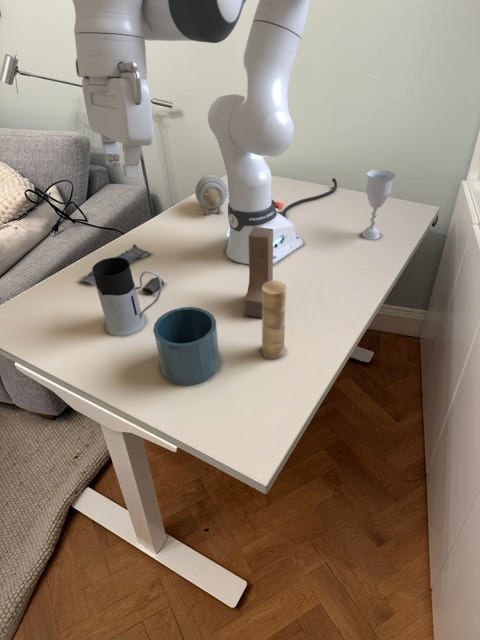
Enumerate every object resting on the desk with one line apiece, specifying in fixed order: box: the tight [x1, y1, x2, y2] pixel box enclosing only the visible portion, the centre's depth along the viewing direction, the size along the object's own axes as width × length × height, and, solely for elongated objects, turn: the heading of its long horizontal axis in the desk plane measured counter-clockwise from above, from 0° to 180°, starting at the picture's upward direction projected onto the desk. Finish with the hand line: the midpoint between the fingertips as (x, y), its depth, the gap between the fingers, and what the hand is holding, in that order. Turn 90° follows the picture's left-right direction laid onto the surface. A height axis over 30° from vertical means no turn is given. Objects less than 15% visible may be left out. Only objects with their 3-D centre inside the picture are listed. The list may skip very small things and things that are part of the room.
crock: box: [152, 306, 220, 386], centre depth 84 cm, size 12×12×10 cm
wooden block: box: [243, 227, 274, 319], centre depth 96 cm, size 9×4×18 cm, turn 163°
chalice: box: [361, 169, 396, 241], centre depth 121 cm, size 7×7×18 cm
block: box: [141, 276, 165, 295], centre depth 109 cm, size 4×6×2 cm, turn 162°
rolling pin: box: [261, 280, 287, 360], centre depth 84 cm, size 4×4×16 cm
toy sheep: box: [194, 174, 229, 215], centre depth 142 cm, size 11×17×11 cm, turn 10°
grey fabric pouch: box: [79, 243, 151, 285], centre depth 118 cm, size 21×7×2 cm, turn 144°
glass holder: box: [91, 256, 163, 337], centre depth 94 cm, size 9×14×15 cm, turn 88°
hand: (121, 171), depth 64 cm, fingers open, 8 cm apart
